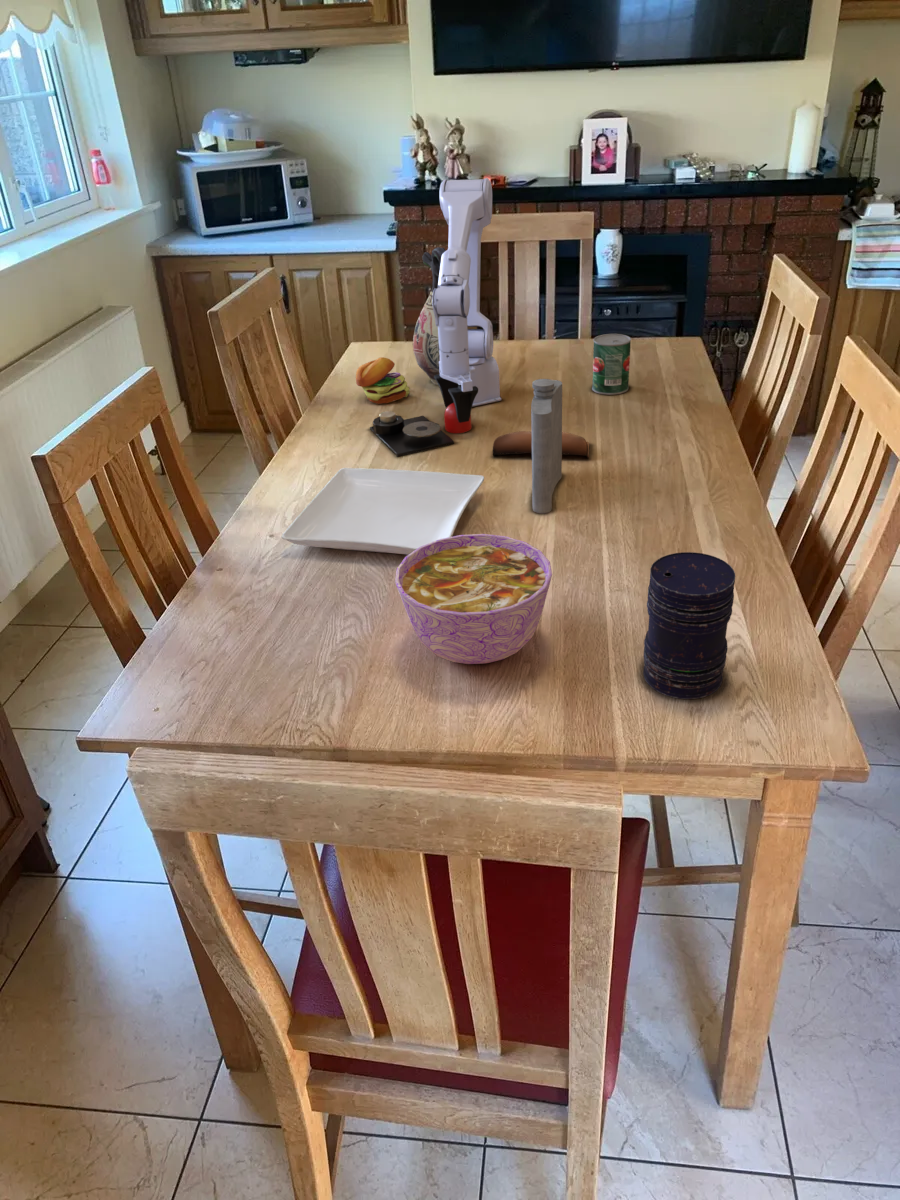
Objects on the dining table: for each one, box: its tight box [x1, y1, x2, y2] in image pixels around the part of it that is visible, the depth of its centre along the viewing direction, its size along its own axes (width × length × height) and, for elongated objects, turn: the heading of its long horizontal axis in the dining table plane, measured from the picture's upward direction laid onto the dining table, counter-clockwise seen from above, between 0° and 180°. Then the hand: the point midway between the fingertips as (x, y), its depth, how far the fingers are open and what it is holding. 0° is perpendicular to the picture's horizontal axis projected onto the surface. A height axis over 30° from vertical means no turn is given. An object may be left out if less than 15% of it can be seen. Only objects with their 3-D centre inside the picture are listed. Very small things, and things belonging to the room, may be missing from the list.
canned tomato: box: [591, 333, 632, 396], centre depth 199 cm, size 8×8×11 cm
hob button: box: [379, 410, 397, 424], centre depth 186 cm, size 3×3×2 cm
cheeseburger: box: [355, 356, 411, 405], centre depth 203 cm, size 10×11×10 cm
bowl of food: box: [394, 533, 553, 665], centre depth 120 cm, size 20×20×12 cm
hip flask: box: [530, 378, 563, 514], centre depth 155 cm, size 16×4×20 cm, turn 167°
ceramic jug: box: [412, 246, 478, 386], centre depth 204 cm, size 17×15×30 cm
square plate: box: [281, 467, 485, 555], centre depth 153 cm, size 27×27×4 cm
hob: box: [369, 414, 455, 457], centre depth 185 cm, size 12×16×3 cm
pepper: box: [443, 403, 472, 434], centre depth 186 cm, size 5×5×6 cm
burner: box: [403, 420, 442, 437], centre depth 183 cm, size 8×8×1 cm
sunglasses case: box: [492, 430, 590, 458], centre depth 174 cm, size 18×7×7 cm
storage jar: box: [642, 551, 736, 700], centre depth 111 cm, size 10×10×15 cm
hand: (457, 415), depth 186 cm, fingers open, 7 cm apart
